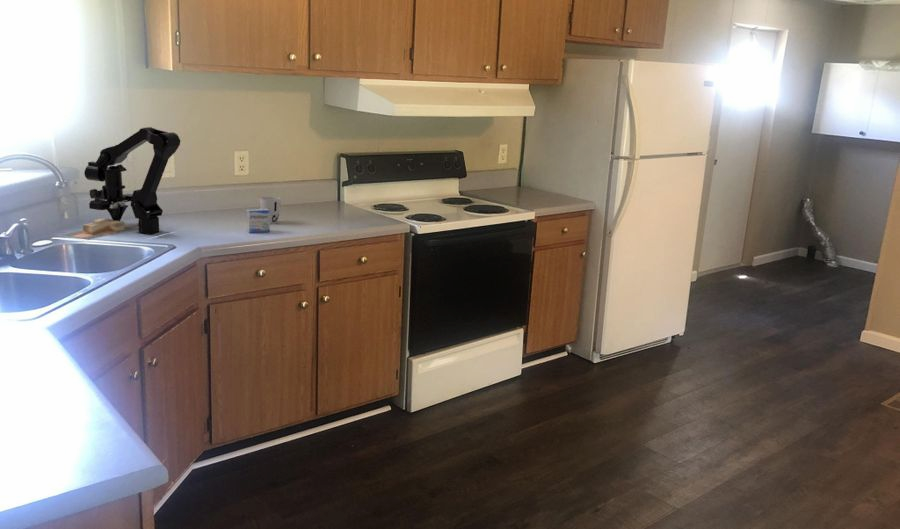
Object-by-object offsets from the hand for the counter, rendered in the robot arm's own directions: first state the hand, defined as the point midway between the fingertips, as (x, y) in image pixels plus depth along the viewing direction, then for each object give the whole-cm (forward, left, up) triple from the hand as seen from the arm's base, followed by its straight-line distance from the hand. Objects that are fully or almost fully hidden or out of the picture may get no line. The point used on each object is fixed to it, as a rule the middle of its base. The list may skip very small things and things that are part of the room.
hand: (116, 224), depth 266 cm
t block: (0, +7, -1) cm, 7 cm away
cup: (-40, -40, -2) cm, 57 cm away
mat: (0, +6, -2) cm, 6 cm away
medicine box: (-45, -24, -2) cm, 51 cm away
